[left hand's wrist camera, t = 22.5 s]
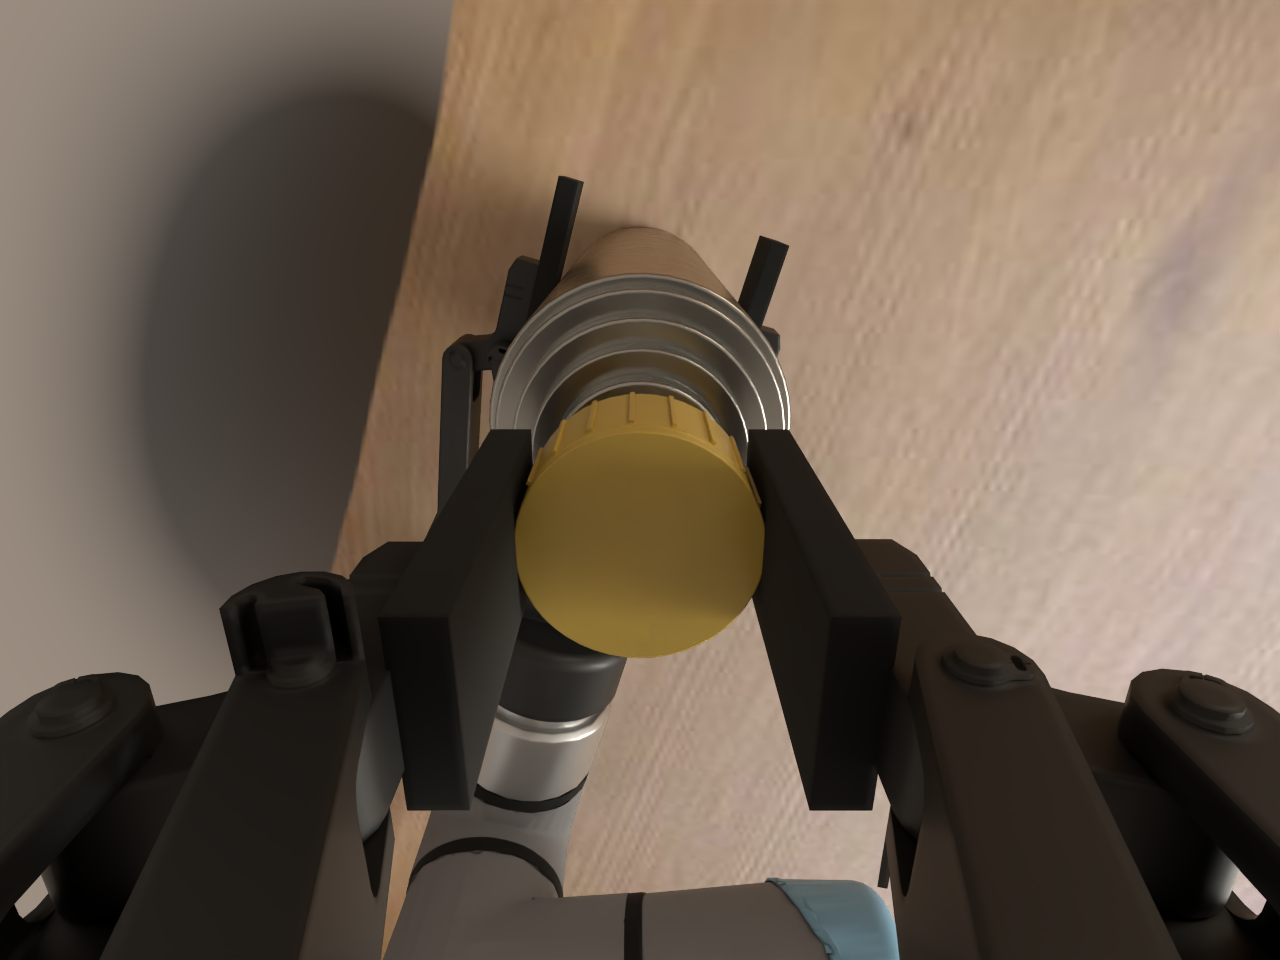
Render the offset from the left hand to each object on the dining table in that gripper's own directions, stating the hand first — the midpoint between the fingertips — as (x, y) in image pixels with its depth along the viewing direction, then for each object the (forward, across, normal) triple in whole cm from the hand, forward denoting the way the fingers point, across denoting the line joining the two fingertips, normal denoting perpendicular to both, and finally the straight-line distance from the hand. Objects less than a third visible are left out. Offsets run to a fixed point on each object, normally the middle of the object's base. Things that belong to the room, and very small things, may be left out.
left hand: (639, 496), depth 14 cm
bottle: (+24, 0, 0) cm, 24 cm away
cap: (-2, 0, 0) cm, 2 cm away
